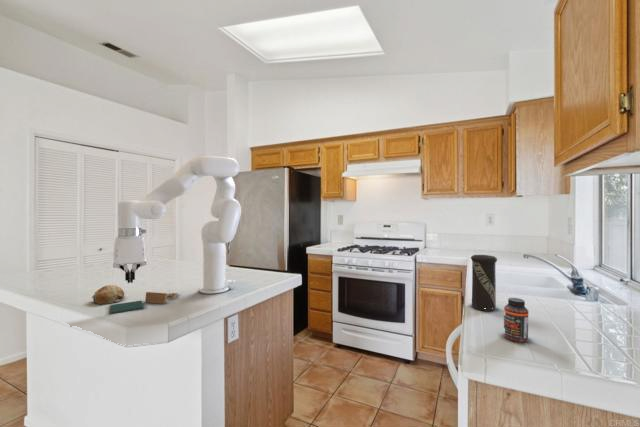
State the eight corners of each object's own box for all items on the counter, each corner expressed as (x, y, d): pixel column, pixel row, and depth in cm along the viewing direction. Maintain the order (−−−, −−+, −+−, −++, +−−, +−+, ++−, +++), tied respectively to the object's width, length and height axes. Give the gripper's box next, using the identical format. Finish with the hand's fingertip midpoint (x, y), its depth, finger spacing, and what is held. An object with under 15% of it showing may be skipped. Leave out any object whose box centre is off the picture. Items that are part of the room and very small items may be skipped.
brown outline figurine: (164, 303, 119) (184, 299, 130) (165, 293, 119) (185, 289, 131) (145, 302, 121) (166, 297, 132) (146, 292, 121) (167, 288, 133)
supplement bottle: (500, 338, 87) (501, 299, 87) (506, 332, 92) (507, 295, 91) (525, 345, 83) (525, 303, 83) (530, 338, 87) (530, 299, 87)
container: (473, 310, 112) (473, 256, 112) (468, 303, 120) (469, 252, 120) (499, 312, 109) (500, 257, 109) (493, 305, 118) (493, 253, 118)
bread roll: (107, 314, 117) (116, 295, 117) (83, 302, 117) (92, 283, 117) (124, 305, 127) (132, 288, 127) (102, 295, 127) (110, 278, 127)
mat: (141, 302, 121) (141, 300, 121) (143, 308, 113) (143, 307, 113) (110, 306, 115) (110, 304, 115) (110, 313, 107) (110, 312, 107)
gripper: (151, 231, 121) (151, 277, 121) (105, 233, 112) (105, 282, 113) (153, 233, 115) (153, 281, 115) (105, 234, 106) (105, 287, 106)
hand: (130, 282), depth 114 cm, fingers closed
